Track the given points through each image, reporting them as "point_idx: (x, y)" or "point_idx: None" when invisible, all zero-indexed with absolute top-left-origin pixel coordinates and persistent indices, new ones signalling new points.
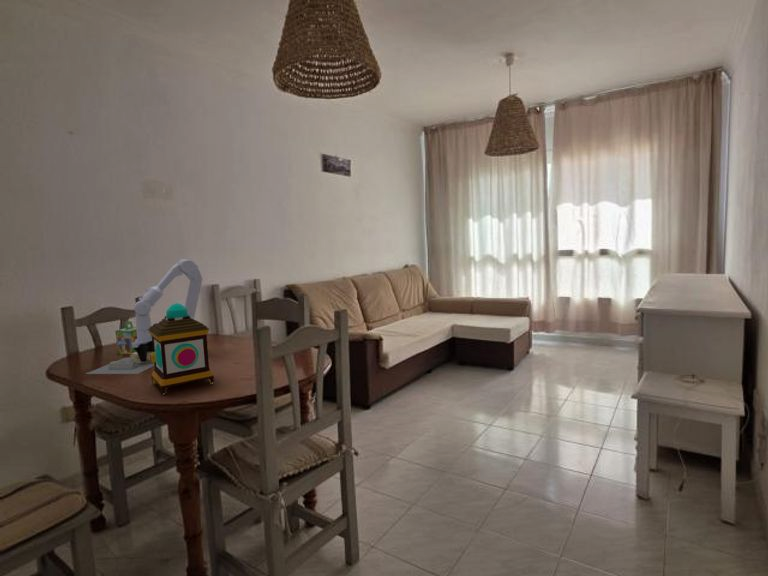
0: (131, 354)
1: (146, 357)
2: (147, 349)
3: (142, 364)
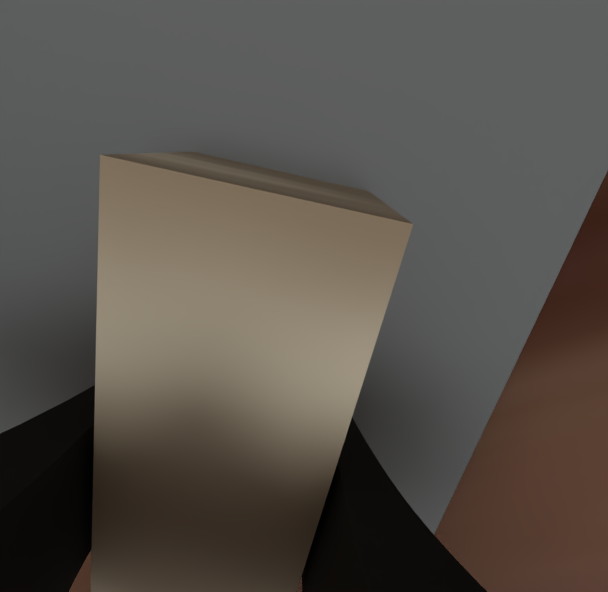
0: (104, 204)
1: None
2: (334, 564)
3: (91, 384)
